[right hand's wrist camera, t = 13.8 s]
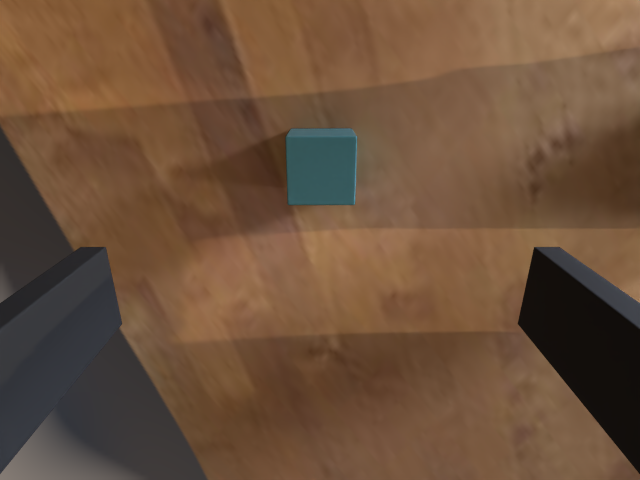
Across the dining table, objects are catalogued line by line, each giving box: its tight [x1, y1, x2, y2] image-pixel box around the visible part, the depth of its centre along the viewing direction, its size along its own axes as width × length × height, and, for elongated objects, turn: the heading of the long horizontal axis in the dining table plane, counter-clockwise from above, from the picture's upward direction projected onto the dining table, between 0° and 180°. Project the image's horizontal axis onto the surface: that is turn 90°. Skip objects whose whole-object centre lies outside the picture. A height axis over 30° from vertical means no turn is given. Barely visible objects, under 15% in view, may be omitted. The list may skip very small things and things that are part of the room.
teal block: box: [285, 128, 357, 205], centre depth 31 cm, size 5×5×5 cm
